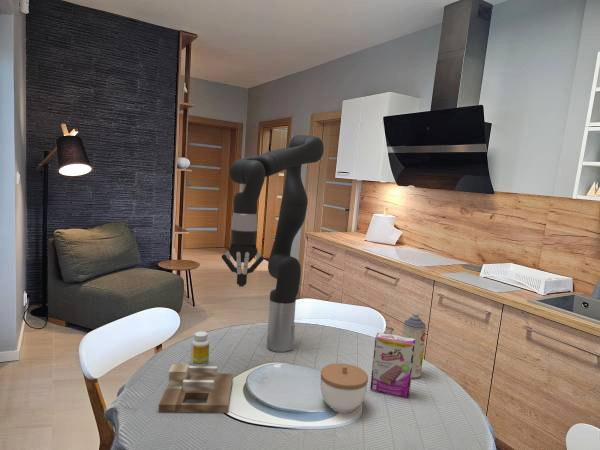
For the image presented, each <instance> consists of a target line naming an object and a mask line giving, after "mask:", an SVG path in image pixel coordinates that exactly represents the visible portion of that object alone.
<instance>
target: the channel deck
mask: <svg viewBox="0 0 600 450" xmlns="http://www.w3.org/2000/svg"><path fill="white" fill-rule="evenodd" d="M233 376H234V375H233V373H218V366H216V365H215V366H212V365H210V366H208V365H204V366H195V365H189V376H188V380H183V386H168V384H167V385H166V388H165V390H164V393H163V394H162V397H161V399H160V401H159V403H158V413H191V414H192V413H195V414H196V413H197V414H199V413H200V414H201V413H205V414H206V413H208V414H211V413H213V414H216V413H217V414H218V413H219V414H220V413H221V414H228V413H229V408H230V400H231V394H232V386H233Z"/></svg>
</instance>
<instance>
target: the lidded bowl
mask: <svg viewBox="0 0 600 450" xmlns="http://www.w3.org/2000/svg"><path fill="white" fill-rule="evenodd" d="M368 381H369V375H368V373H367V372H366V371H365V370H364V369H363V368H360V367H359V366H355V365H353V364H348V363H340V362H339V363H338V362H337V363H330V364H327V365H325V366H324V367H322V368H321V370H320V392H321V396H322V398H323V400H324V401H325V403H326V404H327V405H328V407H329V406H330V407H332V408H333V409H334V410H333V411H334V412H336V413H339V414H349V413H352V412H353V411H354V410H356V409H357V408H358V407H359V406H360V405H361V404H362V402H364V399H365V397H366V394H367V393H366V392H367V387H368ZM330 407H329V408H330Z"/></svg>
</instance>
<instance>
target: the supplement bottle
mask: <svg viewBox="0 0 600 450" xmlns="http://www.w3.org/2000/svg"><path fill="white" fill-rule="evenodd" d="M193 336H194V337H193V338H194V339H193V340H192V342H191V353H190V354H191V355H190V363H191V365H192V366H207V365H208V363H209V353H210V340H209V339H208V332H206V331H197V332H195V333H194V334H193Z"/></svg>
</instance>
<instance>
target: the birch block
mask: <svg viewBox="0 0 600 450" xmlns="http://www.w3.org/2000/svg"><path fill="white" fill-rule="evenodd" d="M189 366H190V364H181V363H172V365H171V367H170V368H169V370H168V384H167V385H168V386H183V380H188V376H189Z"/></svg>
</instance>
